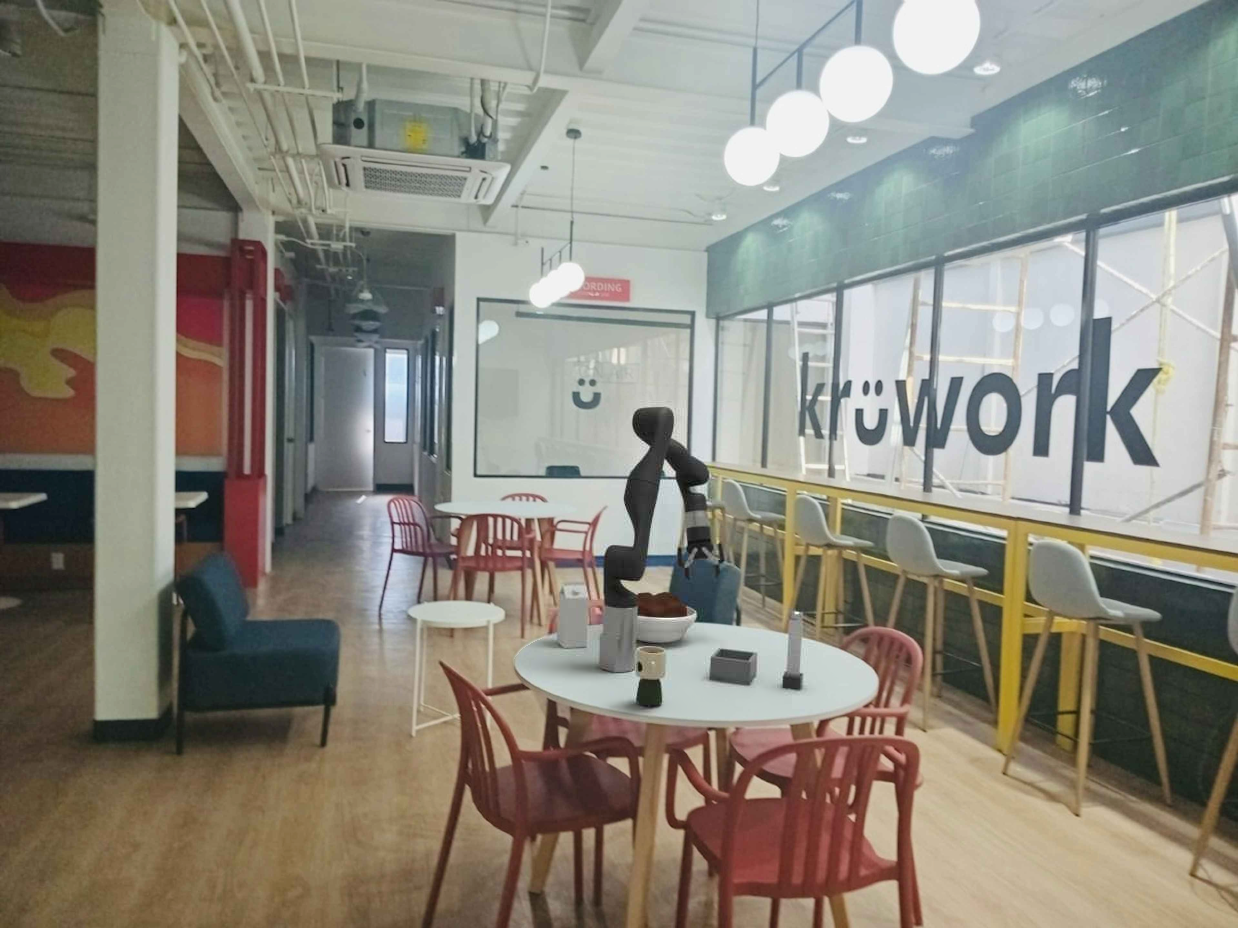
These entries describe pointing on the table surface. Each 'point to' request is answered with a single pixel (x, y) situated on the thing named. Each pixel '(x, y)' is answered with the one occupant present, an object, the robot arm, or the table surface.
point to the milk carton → (573, 615)
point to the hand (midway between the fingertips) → (703, 579)
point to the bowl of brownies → (662, 618)
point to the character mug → (650, 674)
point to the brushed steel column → (794, 652)
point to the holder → (733, 666)
